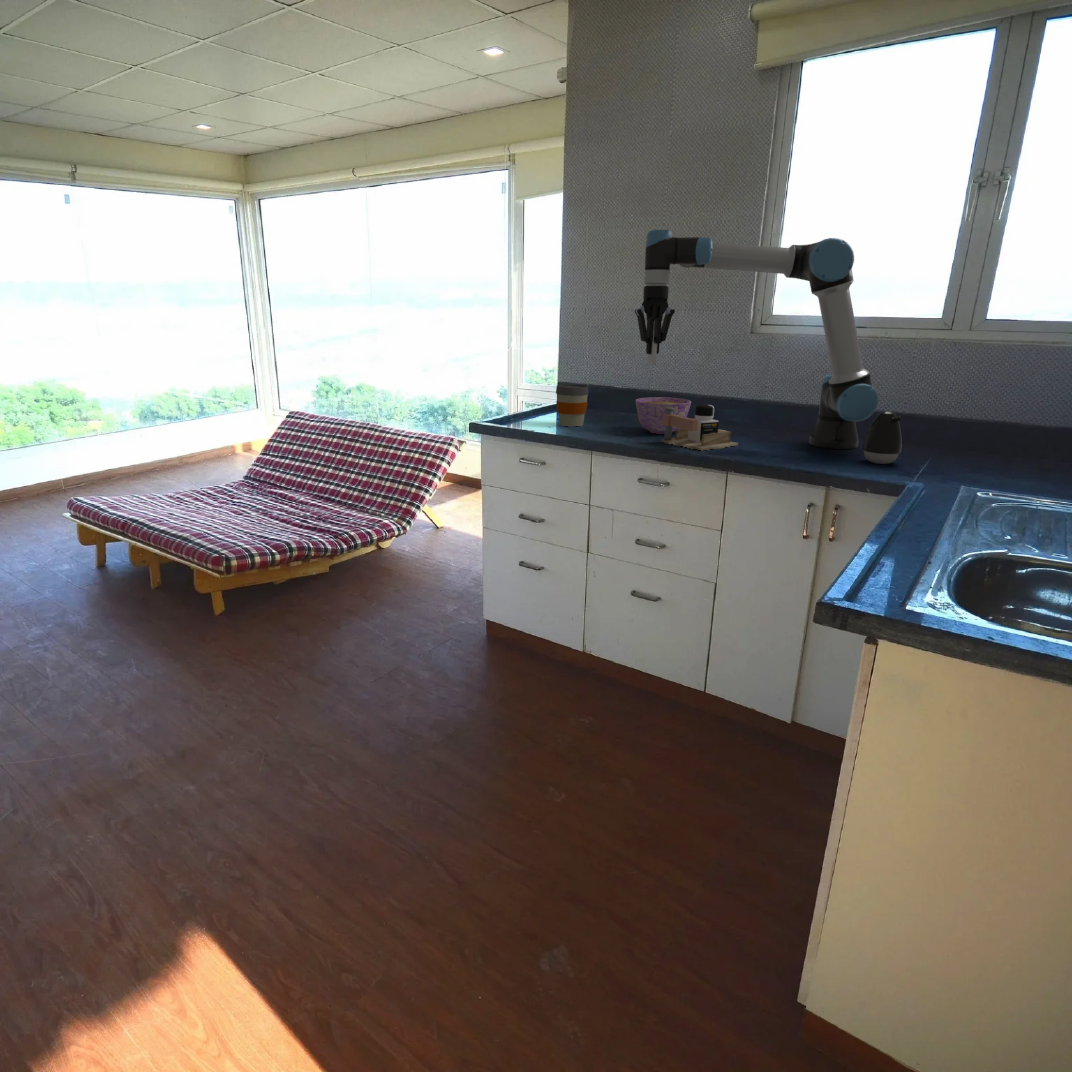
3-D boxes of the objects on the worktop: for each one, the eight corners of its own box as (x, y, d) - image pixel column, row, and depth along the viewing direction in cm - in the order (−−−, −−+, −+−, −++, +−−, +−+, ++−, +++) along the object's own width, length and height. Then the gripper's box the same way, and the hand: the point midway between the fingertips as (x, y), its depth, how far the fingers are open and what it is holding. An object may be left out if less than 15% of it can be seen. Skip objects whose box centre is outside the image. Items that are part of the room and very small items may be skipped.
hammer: (697, 445, 223) (700, 413, 220) (689, 446, 222) (692, 413, 219) (668, 437, 236) (670, 407, 233) (661, 438, 235) (663, 407, 232)
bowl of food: (690, 438, 243) (693, 404, 239) (633, 436, 246) (634, 403, 242) (687, 428, 261) (690, 397, 258) (634, 427, 264) (636, 396, 261)
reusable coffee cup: (550, 423, 271) (551, 384, 266) (580, 422, 275) (581, 383, 270) (561, 428, 260) (562, 388, 255) (592, 427, 263) (593, 387, 259)
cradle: (737, 446, 229) (739, 432, 228) (701, 451, 220) (702, 437, 219) (698, 437, 243) (699, 424, 242) (662, 442, 235) (663, 429, 233)
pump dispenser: (878, 467, 200) (886, 414, 195) (853, 459, 209) (861, 409, 205) (907, 465, 203) (916, 413, 198) (881, 458, 212) (889, 408, 207)
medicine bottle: (699, 443, 228) (702, 406, 224) (687, 439, 234) (689, 404, 230) (717, 442, 230) (720, 405, 226) (704, 438, 236) (707, 403, 233)
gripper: (669, 285, 215) (664, 363, 223) (631, 285, 212) (627, 364, 219) (681, 285, 209) (676, 365, 216) (642, 284, 205) (638, 366, 212)
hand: (651, 364), depth 218 cm, fingers closed
